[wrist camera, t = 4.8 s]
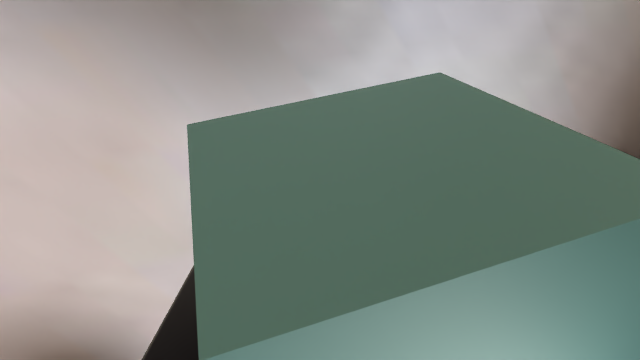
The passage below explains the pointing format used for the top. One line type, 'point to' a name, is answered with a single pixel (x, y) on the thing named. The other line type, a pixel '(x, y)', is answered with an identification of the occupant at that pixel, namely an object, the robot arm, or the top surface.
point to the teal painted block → (412, 231)
